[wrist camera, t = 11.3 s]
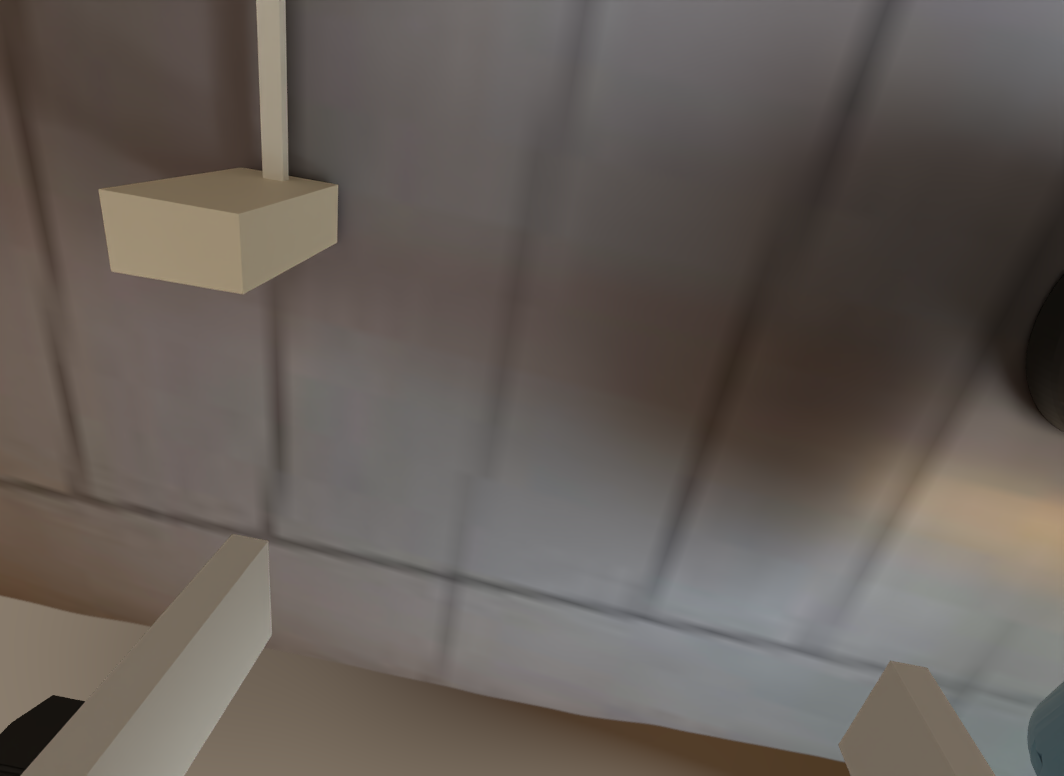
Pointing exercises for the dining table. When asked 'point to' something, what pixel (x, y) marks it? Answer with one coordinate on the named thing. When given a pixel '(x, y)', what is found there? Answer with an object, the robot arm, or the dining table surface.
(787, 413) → the dining table surface
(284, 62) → the block sled
